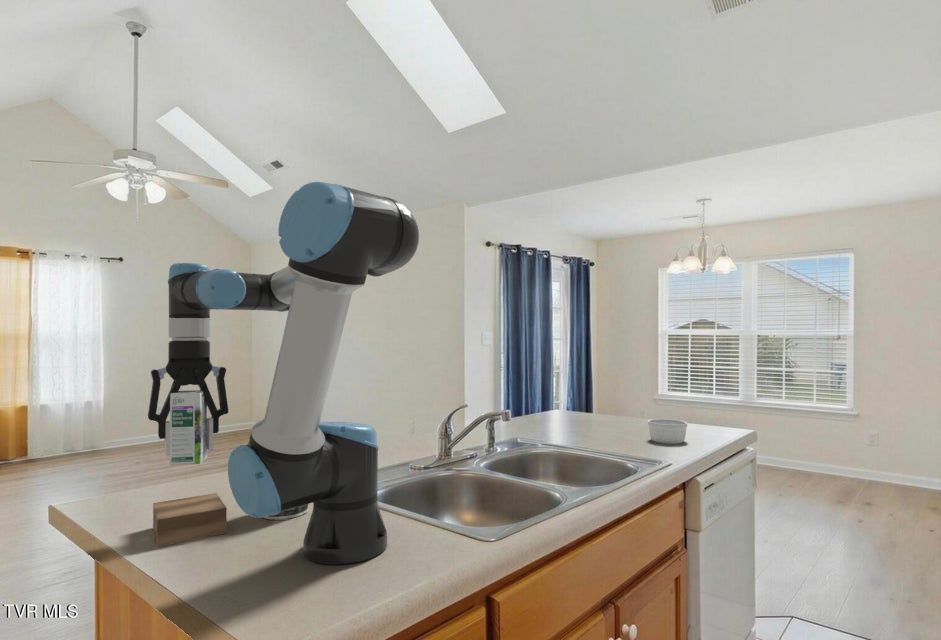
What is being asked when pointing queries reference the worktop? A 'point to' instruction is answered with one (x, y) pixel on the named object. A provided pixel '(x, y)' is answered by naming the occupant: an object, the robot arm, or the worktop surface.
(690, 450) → the worktop surface
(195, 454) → the syrup box
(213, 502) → the plinth
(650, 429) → the ramekin
